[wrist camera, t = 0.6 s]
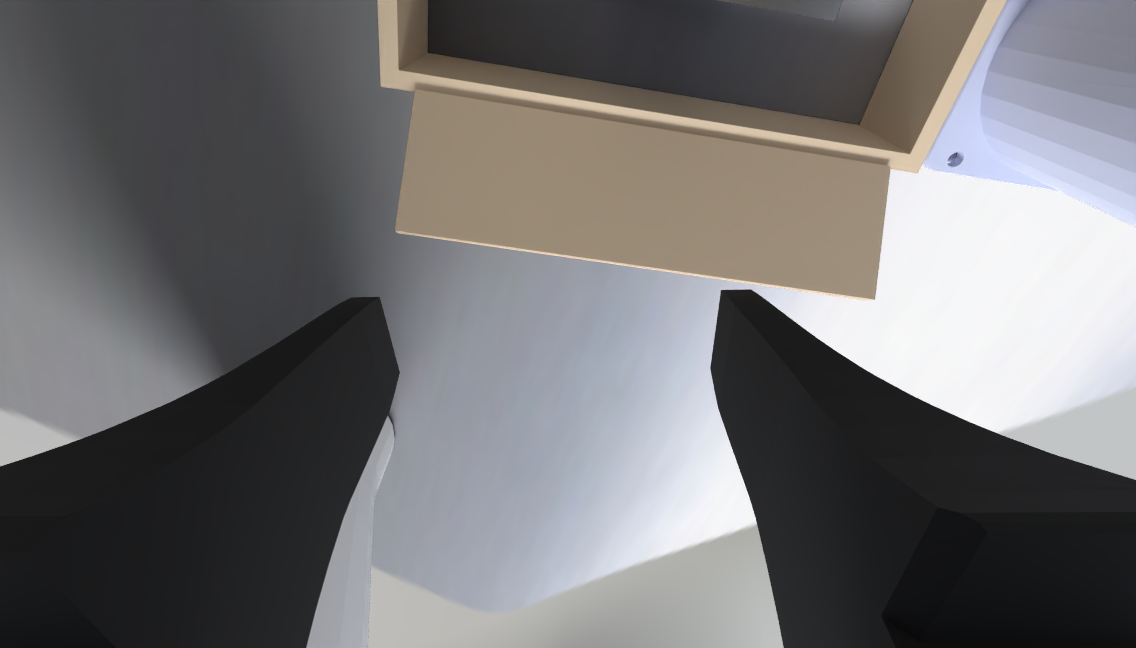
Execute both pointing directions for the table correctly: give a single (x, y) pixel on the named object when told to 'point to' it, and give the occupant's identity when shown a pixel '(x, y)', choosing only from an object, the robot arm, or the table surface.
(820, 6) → the block
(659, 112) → the carton
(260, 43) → the table surface
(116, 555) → the robot arm
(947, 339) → the table surface
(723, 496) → the table surface
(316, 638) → the vase
